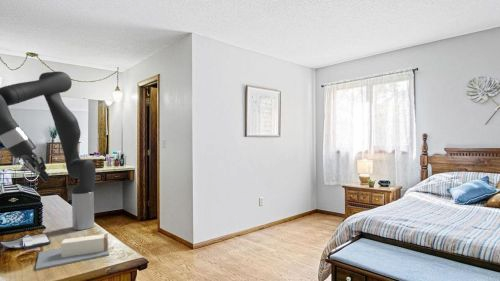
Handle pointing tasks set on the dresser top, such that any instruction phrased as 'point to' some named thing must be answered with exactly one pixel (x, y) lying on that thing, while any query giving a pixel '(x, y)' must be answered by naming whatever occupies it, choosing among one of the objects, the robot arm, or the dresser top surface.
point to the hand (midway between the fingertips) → (47, 180)
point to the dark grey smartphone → (37, 241)
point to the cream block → (84, 245)
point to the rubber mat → (63, 258)
